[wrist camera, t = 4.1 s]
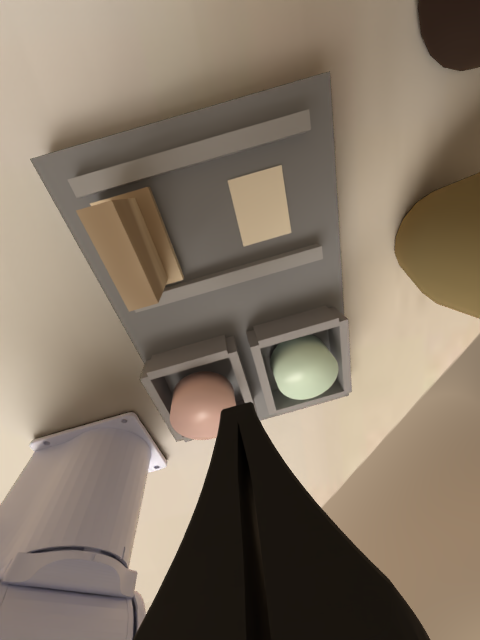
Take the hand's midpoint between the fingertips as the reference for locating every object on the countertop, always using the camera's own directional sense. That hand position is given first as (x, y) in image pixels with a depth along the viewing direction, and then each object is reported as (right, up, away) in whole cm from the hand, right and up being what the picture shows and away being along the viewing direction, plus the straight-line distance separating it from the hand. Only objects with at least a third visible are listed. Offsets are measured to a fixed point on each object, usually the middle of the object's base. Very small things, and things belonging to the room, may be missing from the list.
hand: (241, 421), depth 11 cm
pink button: (-3, -1, +7) cm, 8 cm away
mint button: (+4, +1, +8) cm, 10 cm away
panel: (0, +6, +8) cm, 9 cm away
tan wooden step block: (-6, +9, +3) cm, 11 cm away
